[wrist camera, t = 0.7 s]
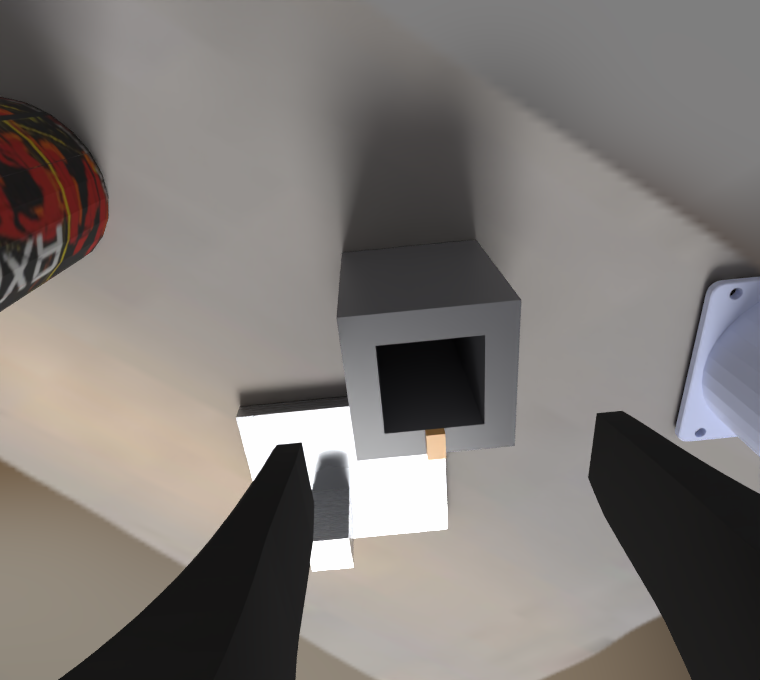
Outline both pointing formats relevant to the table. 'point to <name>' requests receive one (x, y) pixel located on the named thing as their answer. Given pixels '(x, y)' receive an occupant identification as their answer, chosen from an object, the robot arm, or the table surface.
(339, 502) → the grey square post
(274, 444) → the plate
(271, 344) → the table surface
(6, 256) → the deodorant
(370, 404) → the hollow square housing
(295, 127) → the table surface
